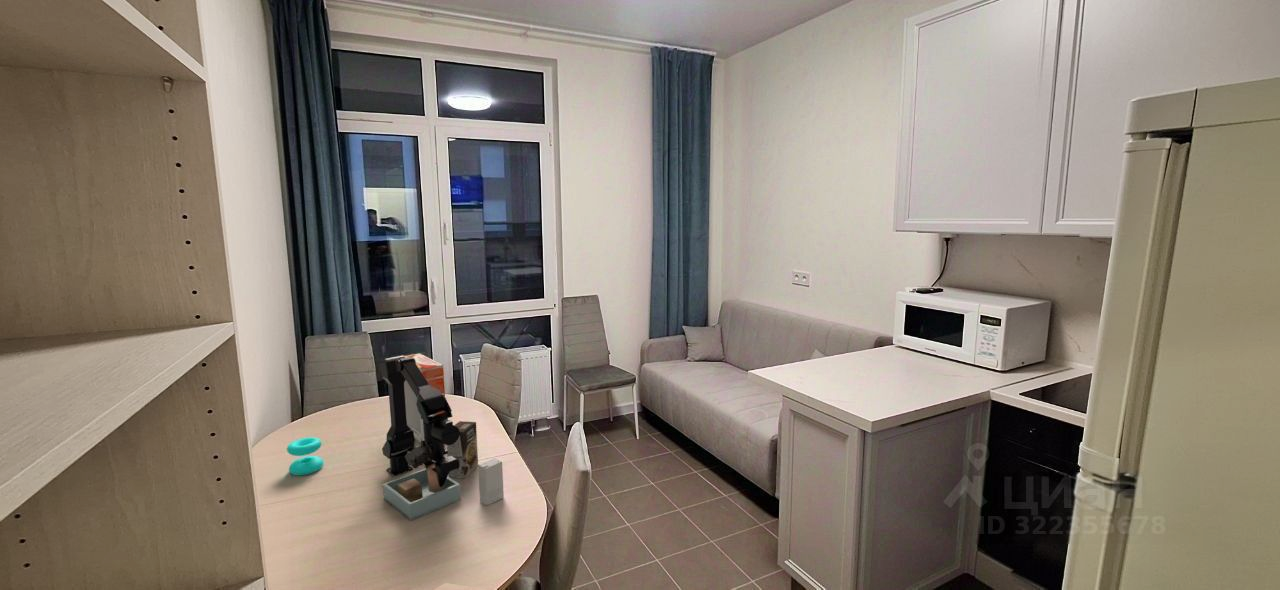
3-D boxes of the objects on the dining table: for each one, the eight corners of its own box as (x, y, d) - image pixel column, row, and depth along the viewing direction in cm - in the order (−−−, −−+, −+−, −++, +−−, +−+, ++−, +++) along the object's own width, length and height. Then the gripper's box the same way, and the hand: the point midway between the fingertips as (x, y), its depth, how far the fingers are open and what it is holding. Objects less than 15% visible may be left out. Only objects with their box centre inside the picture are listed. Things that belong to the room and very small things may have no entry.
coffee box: (465, 478, 178) (463, 432, 176) (447, 477, 180) (445, 430, 177) (479, 466, 187) (476, 421, 185) (462, 464, 189) (459, 420, 186)
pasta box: (447, 440, 208) (443, 364, 204) (426, 447, 203) (421, 369, 198) (424, 423, 225) (419, 353, 220) (404, 429, 219) (399, 357, 215)
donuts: (282, 442, 183) (315, 433, 190) (285, 470, 185) (318, 460, 192) (291, 451, 176) (325, 441, 184) (294, 479, 178) (327, 469, 185)
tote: (383, 499, 166) (382, 484, 165) (432, 480, 177) (431, 466, 176) (410, 521, 154) (409, 504, 153) (460, 499, 166) (459, 484, 165)
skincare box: (495, 493, 169) (494, 456, 167) (504, 498, 166) (503, 461, 164) (478, 501, 164) (476, 463, 163) (487, 506, 162) (485, 468, 160)
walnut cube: (414, 493, 167) (413, 478, 167) (422, 499, 164) (421, 483, 163) (398, 500, 164) (397, 484, 163) (406, 505, 161) (405, 490, 160)
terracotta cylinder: (425, 488, 167) (424, 466, 166) (441, 482, 170) (440, 461, 169) (432, 494, 163) (431, 472, 162) (448, 488, 167) (447, 467, 166)
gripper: (393, 434, 164) (397, 483, 167) (423, 453, 152) (426, 505, 155) (428, 424, 173) (431, 470, 175) (459, 440, 160) (462, 490, 163)
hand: (437, 483), depth 167 cm, fingers closed on terracotta cylinder, 5 cm apart
